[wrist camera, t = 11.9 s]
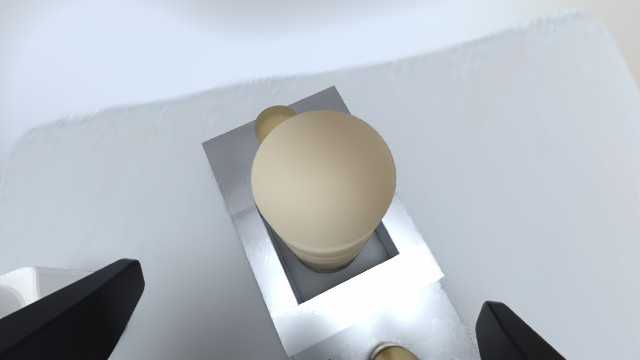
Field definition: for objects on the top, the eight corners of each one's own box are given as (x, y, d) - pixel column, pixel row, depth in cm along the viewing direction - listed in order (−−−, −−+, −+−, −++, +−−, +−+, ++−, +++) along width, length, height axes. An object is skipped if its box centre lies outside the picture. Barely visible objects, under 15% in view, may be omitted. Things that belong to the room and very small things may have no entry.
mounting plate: (368, 529, 17) (380, 614, 13) (217, 161, 24) (189, 129, 19) (519, 439, 18) (582, 487, 14) (334, 109, 25) (334, 67, 20)
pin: (310, 285, 21) (287, 274, 10) (280, 222, 22) (229, 144, 11) (373, 253, 21) (424, 205, 10) (341, 192, 23) (353, 89, 11)
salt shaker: (112, 269, 22) (-46, 251, 13) (131, 330, 20) (-28, 358, 11) (50, 301, 21) (-160, 305, 12) (66, 365, 20) (-153, 423, 11)
